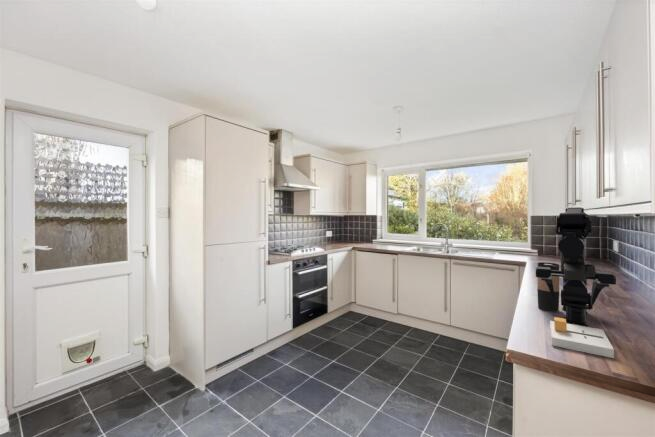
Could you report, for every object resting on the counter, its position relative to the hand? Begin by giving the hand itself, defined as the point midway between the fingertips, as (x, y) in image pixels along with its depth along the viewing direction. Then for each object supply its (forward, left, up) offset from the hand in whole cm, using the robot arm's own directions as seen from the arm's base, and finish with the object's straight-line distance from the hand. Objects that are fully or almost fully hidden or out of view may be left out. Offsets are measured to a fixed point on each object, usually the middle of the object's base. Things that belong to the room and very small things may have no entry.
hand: (572, 302), depth 90 cm
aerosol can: (-43, +4, -14) cm, 46 cm away
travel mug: (-40, -5, -14) cm, 43 cm away
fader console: (-5, +2, -14) cm, 15 cm away
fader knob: (-5, -3, -11) cm, 12 cm away
